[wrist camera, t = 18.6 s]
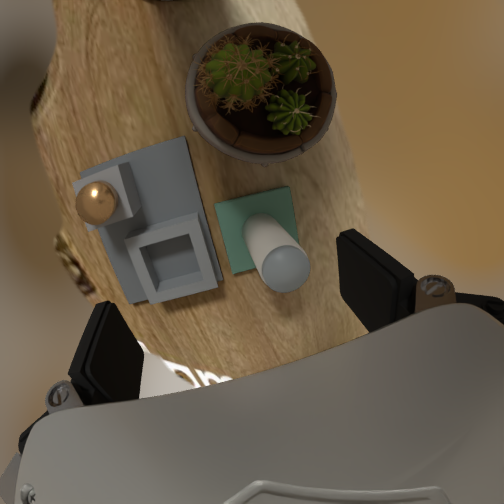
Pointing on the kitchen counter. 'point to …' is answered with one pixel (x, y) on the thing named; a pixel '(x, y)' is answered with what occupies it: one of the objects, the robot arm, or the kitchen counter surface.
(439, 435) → the robot arm
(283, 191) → the mat
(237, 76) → the flowerpot
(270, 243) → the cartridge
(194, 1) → the kitchen counter surface
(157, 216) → the grey base with tray
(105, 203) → the plunger
